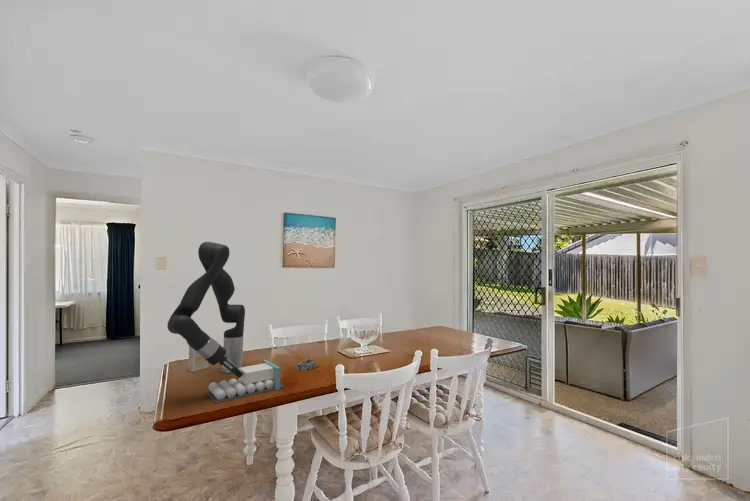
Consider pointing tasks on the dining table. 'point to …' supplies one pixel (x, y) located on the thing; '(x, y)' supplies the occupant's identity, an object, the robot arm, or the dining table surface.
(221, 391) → the roller bed
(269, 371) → the slab
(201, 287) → the robot arm
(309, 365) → the egg carton
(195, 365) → the supplement box
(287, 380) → the dining table surface
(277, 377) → the bar
